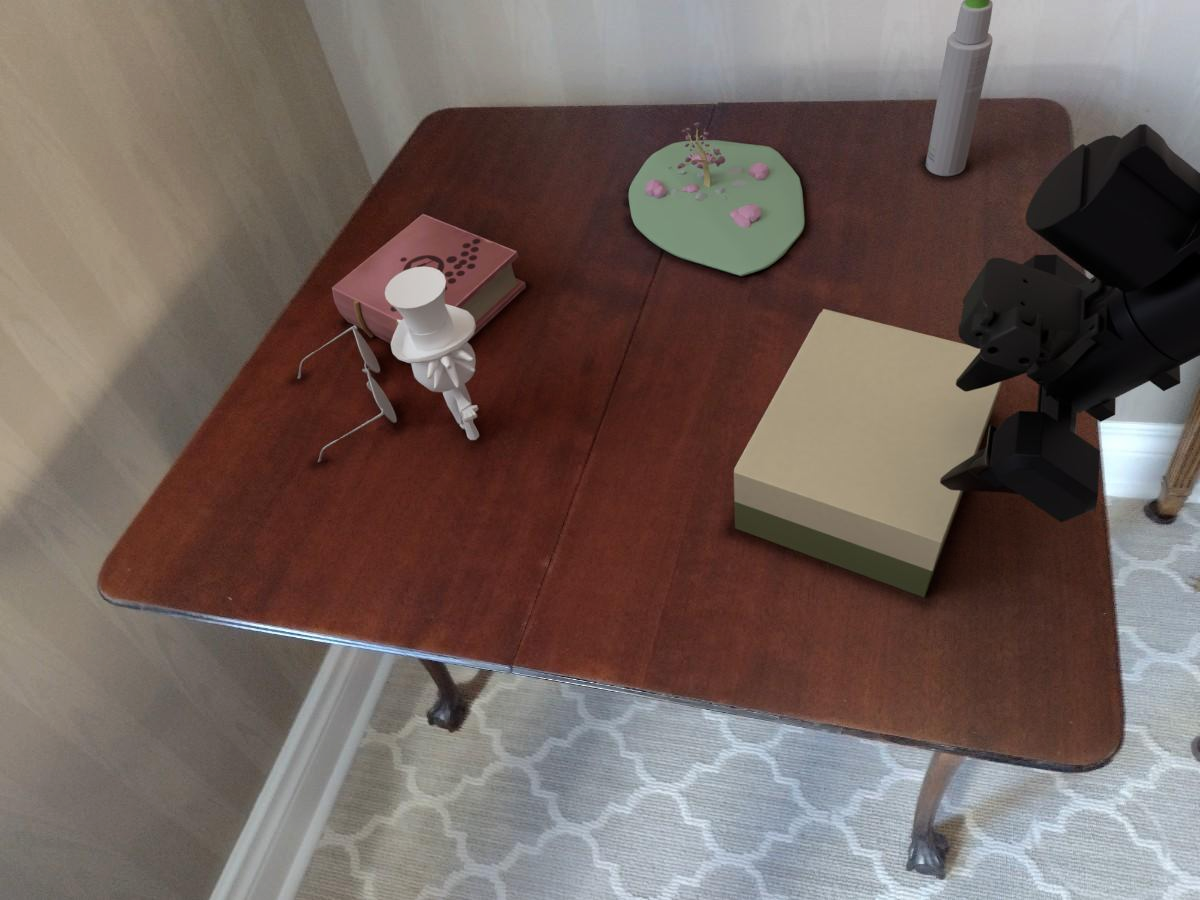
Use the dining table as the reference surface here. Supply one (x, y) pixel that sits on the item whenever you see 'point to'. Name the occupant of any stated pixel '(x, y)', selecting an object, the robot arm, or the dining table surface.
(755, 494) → the beige lidded box
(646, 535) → the dining table surface
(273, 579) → the dining table surface
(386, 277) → the book
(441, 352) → the figurine
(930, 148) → the bottle
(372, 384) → the sunglasses
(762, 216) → the green garden diorama
